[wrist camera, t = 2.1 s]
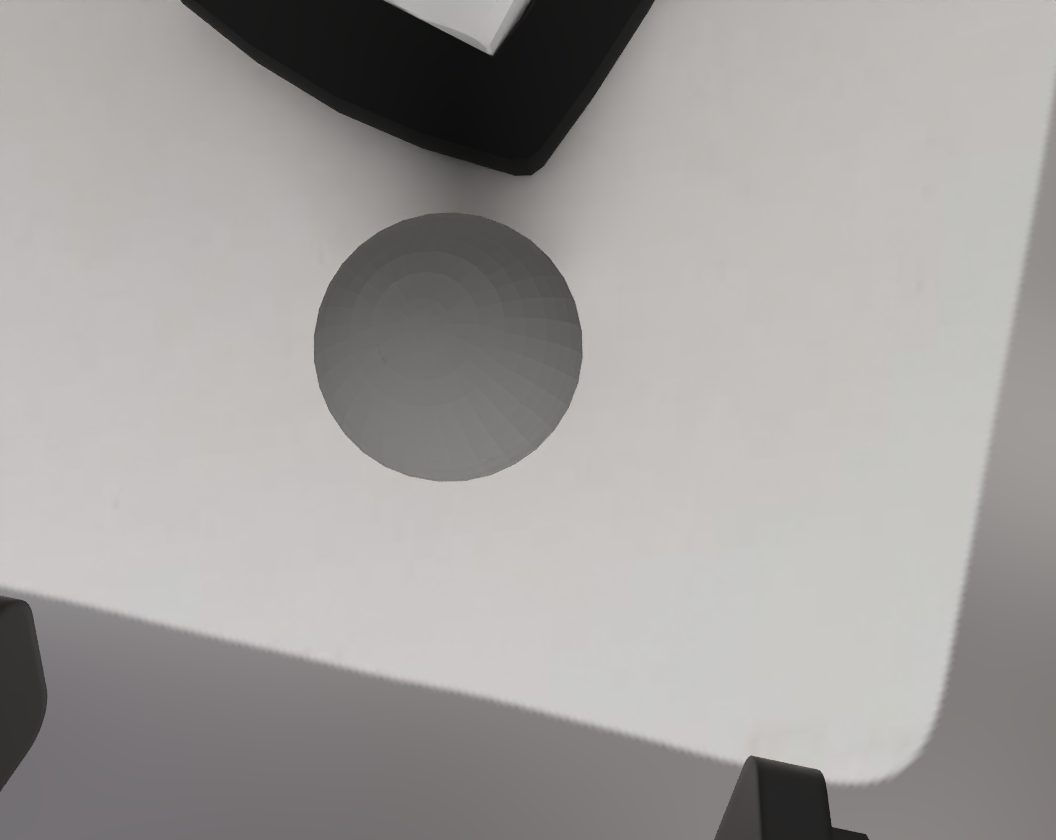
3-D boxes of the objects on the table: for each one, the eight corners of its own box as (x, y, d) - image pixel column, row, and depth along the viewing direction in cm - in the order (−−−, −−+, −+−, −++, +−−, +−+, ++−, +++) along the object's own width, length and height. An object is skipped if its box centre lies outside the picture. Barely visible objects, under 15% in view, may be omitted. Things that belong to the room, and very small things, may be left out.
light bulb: (535, 523, 29) (488, 531, 19) (357, 431, 30) (221, 393, 20) (627, 339, 29) (628, 252, 19) (448, 253, 30) (359, 126, 20)
